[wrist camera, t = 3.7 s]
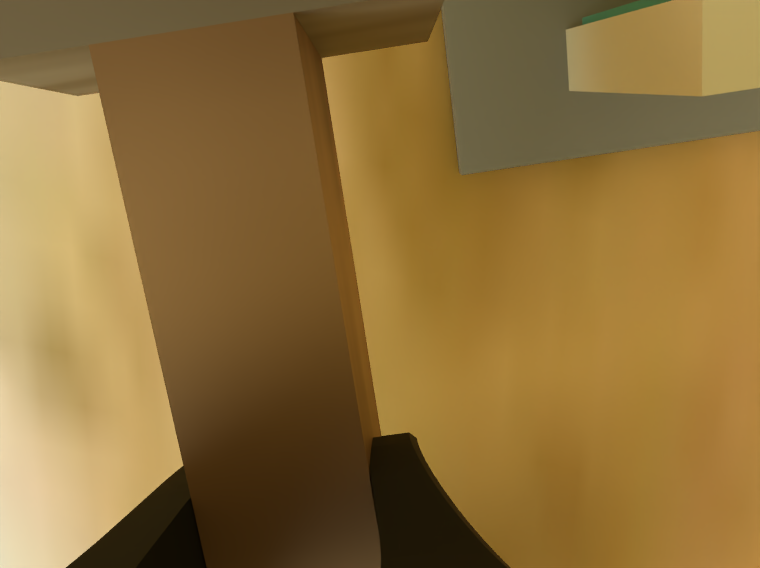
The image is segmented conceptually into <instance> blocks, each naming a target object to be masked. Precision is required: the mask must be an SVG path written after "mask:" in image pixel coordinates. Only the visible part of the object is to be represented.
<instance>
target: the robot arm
mask: <svg viewBox="0 0 760 568" xmlns="http://www.w3.org/2000/svg"><path fill="white" fill-rule="evenodd" d="M370 473H371V480H372V487H373V494H374V501H375V508H376V515H377V521H378V528H379V535H380V549H381V568H510V567H509V566H508V565H507V564H506V563H505V562H504V561H503V560H502V559H501V558H500V557H499V556H498V555H497V554H496V553H495V552H494V551H493V550H492V548H491V547H490V546H489V545H488V544H487V543H486V542H485V541H484V540H483V539H482V537H481V536H480V535H479V534H478V533H477V532H476V530H475V529H474V528H473V527H472V526H471V525H470V523H469V522H468V521H467V520H466V519H465V517H464V516H463V515H462V514H461V512H460V511H459V510H458V509H457V507H456V506H455V504H454V503H453V502H452V500H451V499H450V498H449V496H448V495H447V493H446V492H445V491H444V489H443V488H442V487H441V485H440V484H439V482H438V481H437V479H436V477H435V476H434V474H433V473H432V471H431V469H430V468H429V466H428V464H427V462H426V461H425V459H424V457H423V455H422V453H421V450H420V448H419V445H418V443H417V438H416V437H414V436H413V435H412V434H410V433H402V434H395V435H387V436H380V437H373V440H372V446H371V455H370ZM66 568H207V567H206V562H205V558H204V554H203V549H202V545H201V540H200V536H199V532H198V527H197V523H196V518H195V514H194V509H193V505H192V501H191V496H190V492H189V487H188V483H187V478H186V474H185V470H184V466H183V467H181V468H180V469H179V470H177V471H176V472H175V473H174V474H173V475H171V476H170V477H169V478H168V479H167V480H166V481H165V482H163V483H162V484H161V485H160V486H159V487H158V488H157V489H156V490H154V491H153V492H152V493H151V494H150V495H149V496H148V497H147V498H146V499H144V500H143V501H142V502H141V503H140V504H139V505H138V506H137V507H136V508H134V509H133V510H132V511H131V512H130V513H129V514H128V515H127V516H126V517H124V518H123V519H122V520H121V521H120V522H119V523H118V524H117V525H115V526H114V527H113V528H112V529H111V530H110V531H109V532H108V533H107V534H105V535H104V536H103V537H102V538H101V539H100V540H99V541H97V542H96V543H95V544H94V545H93V546H92V547H90V548H89V549H88V550H87V551H86V552H84V553H83V554H82V555H81V556H79V557H78V558H77V559H76V560H75V561H73V562H72V563H71V564H70V565H69V566H67V567H66Z"/></svg>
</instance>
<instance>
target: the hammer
mask: <svg viewBox="0 0 760 568" xmlns="http://www.w3.org/2000/svg"><path fill="white" fill-rule="evenodd" d="M443 2H444V0H0V81H3V82H9V83H14V84H19V85H24V86H29V87H34V88H40V89H45V90H50V91H55V92H60V93H65V94H71V95H76V96H80V95H87V94H93V93H100V98H101V102H102V107H103V111H104V116H105V120H106V124H107V129H108V133H109V138H110V142H111V147H112V151H113V155H114V160H115V164H116V169H117V173H118V178H119V182H120V186H121V191H122V195H123V200H124V204H125V209H126V213H127V217H128V222H129V226H130V231H131V235H132V239H133V244H134V248H135V253H136V257H137V262H138V266H139V270H140V275H141V279H142V284H143V288H144V293H145V297H146V301H147V306H148V310H149V315H150V319H151V324H152V328H153V332H154V337H155V341H156V346H157V350H158V355H159V359H160V363H161V368H162V372H163V377H164V381H165V385H166V390H167V394H168V399H169V403H170V408H171V412H172V416H173V421H174V425H175V430H176V434H177V439H178V443H179V447H180V452H181V456H182V461H183V465H184V470H185V474H186V478H187V483H188V487H189V492H190V496H191V501H192V505H193V509H194V514H195V518H196V523H197V527H198V532H199V536H200V540H201V545H202V549H203V554H204V558H205V562H206V567H207V568H381V549H380V535H379V528H378V521H377V515H376V508H375V501H374V494H373V487H372V480H371V473H370V455H371V446H372V440H373V437H380V436H381V431H380V425H379V419H378V413H377V406H376V400H375V394H374V387H373V381H372V375H371V368H370V362H369V356H368V349H367V343H366V337H365V330H364V324H363V318H362V311H361V305H360V299H359V292H358V286H357V280H356V273H355V267H354V261H353V254H352V248H351V242H350V235H349V229H348V223H347V216H346V210H345V204H344V197H343V191H342V185H341V179H340V172H339V166H338V160H337V153H336V147H335V141H334V134H333V128H332V122H331V115H330V109H329V103H328V96H327V90H326V84H325V77H324V71H323V65H322V58H324V57H330V56H337V55H343V54H349V53H356V52H362V51H369V50H375V49H381V48H388V47H394V46H401V45H407V44H413V43H420V42H426V41H428V39H429V37H430V34H431V32H432V29H433V27H434V24H435V22H436V20H437V17H438V15H439V12H440V10H441V7H442V5H443Z"/></svg>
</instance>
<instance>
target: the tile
mask: <svg viewBox="0 0 760 568" xmlns="http://www.w3.org/2000/svg"><path fill="white" fill-rule="evenodd" d="M566 43H567V61H568V79H569V91H580V92H605V93H629V94H654V95H679V96H708V95H715V94H722V93H728V92H735V91H741V90H748V89H755V88H760V0H638V1H635V2H632V3H629V4H625V5H622V6H619V7H616V8H613V9H609V10H606V11H603V12H600V13H596V14H593V15H590V16H587V17H583V18H582V25H581V26H578V27H574V28H570V29H567V30H566Z"/></svg>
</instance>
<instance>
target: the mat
mask: <svg viewBox="0 0 760 568" xmlns="http://www.w3.org/2000/svg"><path fill="white" fill-rule="evenodd" d="M635 1H638V0H444V2H443V5H442V7H441V10H442V19H443V28H444V37H445V47H446V56H447V65H448V74H449V83H450V92H451V101H452V111H453V120H454V129H455V138H456V147H457V156H458V166H459V173H460V174H461V175H466V174H473V173H479V172H486V171H493V170H499V169H506V168H513V167H519V166H526V165H533V164H540V163H546V162H553V161H560V160H566V159H573V158H580V157H586V156H593V155H600V154H607V153H613V152H620V151H627V150H633V149H640V148H647V147H654V146H660V145H667V144H674V143H680V142H687V141H694V140H700V139H707V138H714V137H721V136H727V135H734V134H741V133H747V132H754V131H760V88H755V89H748V90H741V91H735V92H728V93H722V94H715V95H708V96H679V95H654V94H629V93H605V92H580V91H569V79H568V61H567V43H566V30H567V29H570V28H574V27H578V26H581V25H582V18H583V17H587V16H590V15H593V14H596V13H600V12H603V11H606V10H609V9H613V8H616V7H619V6H622V5H625V4H629V3H632V2H635Z"/></svg>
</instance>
